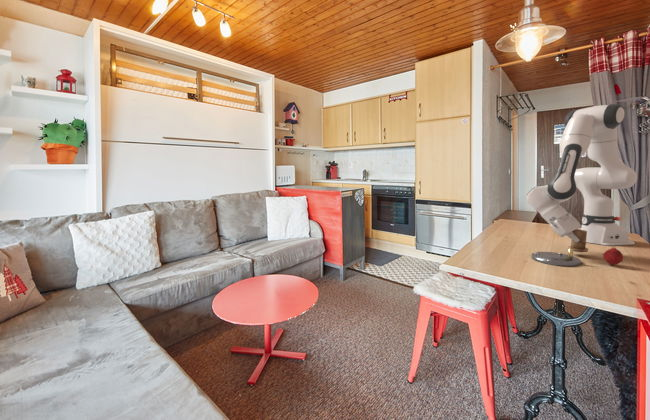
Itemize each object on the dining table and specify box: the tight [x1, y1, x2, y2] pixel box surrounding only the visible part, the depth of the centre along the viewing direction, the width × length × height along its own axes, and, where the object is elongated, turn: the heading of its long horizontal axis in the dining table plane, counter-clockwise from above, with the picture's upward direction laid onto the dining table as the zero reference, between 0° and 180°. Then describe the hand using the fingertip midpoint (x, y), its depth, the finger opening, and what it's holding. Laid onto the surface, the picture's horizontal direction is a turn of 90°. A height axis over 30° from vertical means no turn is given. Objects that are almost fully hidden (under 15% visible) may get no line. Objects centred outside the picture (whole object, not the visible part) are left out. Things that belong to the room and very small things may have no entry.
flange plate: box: [530, 248, 581, 267], centre depth 130 cm, size 17×17×6 cm
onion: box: [602, 245, 624, 267], centre depth 121 cm, size 6×6×8 cm
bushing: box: [567, 229, 589, 253], centre depth 134 cm, size 7×7×9 cm
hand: (580, 240), depth 133 cm, fingers closed on bushing, 5 cm apart
